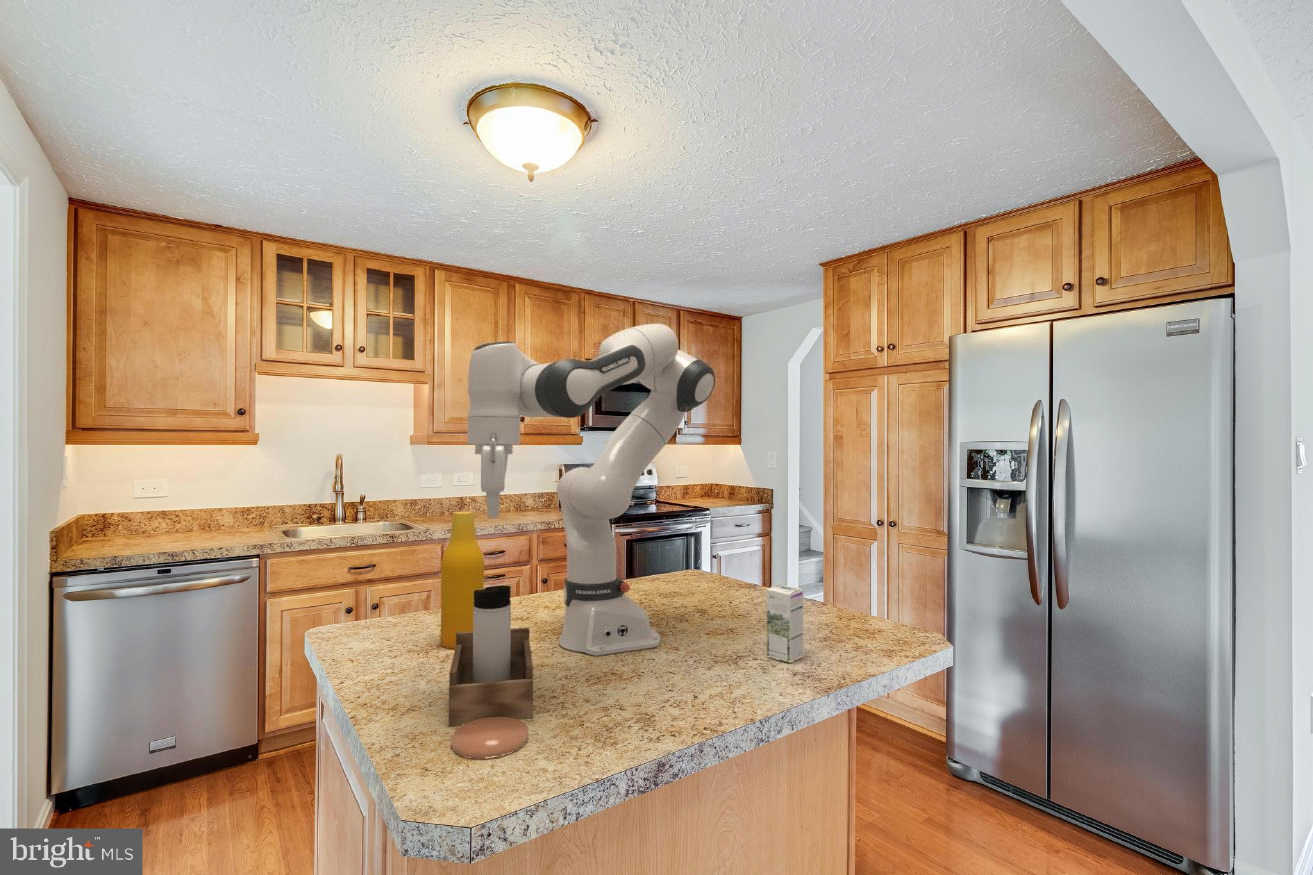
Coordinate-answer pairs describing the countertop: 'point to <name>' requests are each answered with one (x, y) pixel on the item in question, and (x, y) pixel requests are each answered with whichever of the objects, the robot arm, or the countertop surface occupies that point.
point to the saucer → (489, 737)
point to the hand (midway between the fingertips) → (493, 514)
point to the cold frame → (491, 683)
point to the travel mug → (491, 634)
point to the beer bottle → (460, 579)
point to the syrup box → (785, 622)
